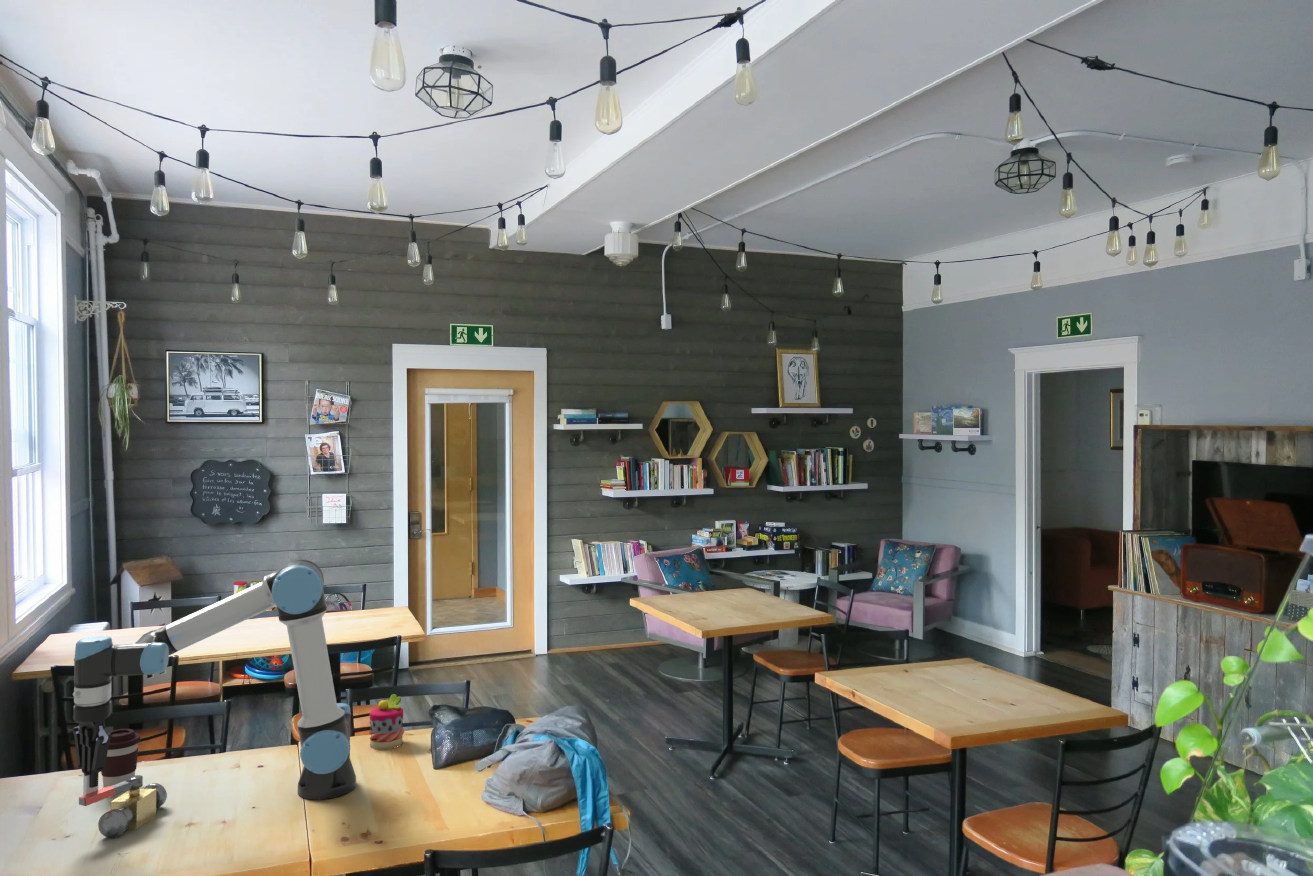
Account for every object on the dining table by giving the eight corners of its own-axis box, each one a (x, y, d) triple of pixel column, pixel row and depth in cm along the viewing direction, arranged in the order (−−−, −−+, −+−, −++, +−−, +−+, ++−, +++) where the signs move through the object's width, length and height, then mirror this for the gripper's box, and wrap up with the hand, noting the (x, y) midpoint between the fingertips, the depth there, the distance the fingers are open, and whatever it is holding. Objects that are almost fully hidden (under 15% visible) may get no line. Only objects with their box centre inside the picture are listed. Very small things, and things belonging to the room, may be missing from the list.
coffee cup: (119, 795, 230) (120, 739, 231) (88, 792, 232) (89, 737, 233) (148, 781, 240) (148, 728, 240) (118, 778, 242) (118, 725, 242)
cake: (389, 752, 264) (389, 703, 265) (361, 747, 268) (362, 699, 268) (410, 741, 274) (410, 694, 274) (383, 737, 278) (383, 691, 278)
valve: (145, 805, 224) (145, 772, 224) (169, 805, 224) (170, 773, 224) (94, 840, 204) (94, 804, 204) (120, 840, 204) (121, 804, 204)
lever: (136, 783, 217) (136, 774, 217) (145, 785, 215) (145, 776, 215) (76, 805, 203) (76, 796, 203) (86, 808, 202) (86, 798, 202)
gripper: (61, 701, 206) (59, 799, 206) (90, 710, 200) (88, 811, 200) (94, 693, 213) (92, 788, 213) (123, 702, 206) (121, 800, 206)
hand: (90, 799), depth 206 cm, fingers closed
